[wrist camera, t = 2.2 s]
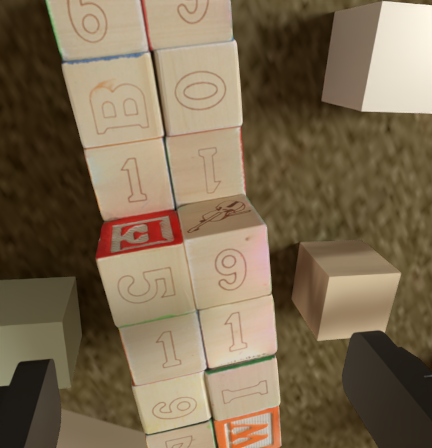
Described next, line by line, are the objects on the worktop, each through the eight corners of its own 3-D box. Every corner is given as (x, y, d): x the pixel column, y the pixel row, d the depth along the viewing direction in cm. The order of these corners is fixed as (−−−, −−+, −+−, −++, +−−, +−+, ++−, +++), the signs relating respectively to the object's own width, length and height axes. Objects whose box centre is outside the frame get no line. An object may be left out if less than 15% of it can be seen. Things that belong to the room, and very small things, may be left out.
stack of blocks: (76, -7, 20) (-4, -85, 9) (195, -18, 21) (258, -103, 10) (149, 320, 29) (154, 486, 18) (230, 304, 30) (283, 454, 19)
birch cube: (299, 241, 28) (329, 276, 24) (361, 239, 29) (401, 272, 25) (290, 298, 30) (317, 340, 26) (348, 294, 31) (384, 334, 27)
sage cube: (-4, 279, 25) (-35, 328, 21) (75, 276, 26) (61, 321, 22) (9, 339, 27) (-18, 395, 23) (82, 334, 28) (70, 387, 24)
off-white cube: (334, 12, 22) (382, 0, 18) (410, 18, 23) (474, 9, 19) (320, 100, 24) (361, 111, 20) (391, 103, 25) (445, 113, 21)
